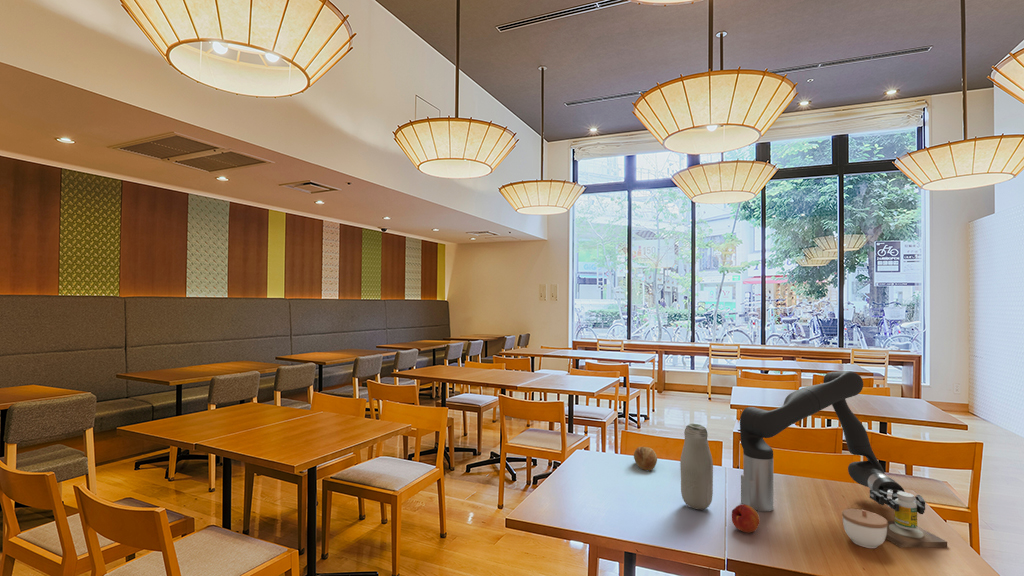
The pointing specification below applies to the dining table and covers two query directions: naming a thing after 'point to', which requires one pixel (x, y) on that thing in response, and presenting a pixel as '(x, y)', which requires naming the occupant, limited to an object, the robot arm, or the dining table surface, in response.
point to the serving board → (912, 537)
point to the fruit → (745, 518)
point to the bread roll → (645, 458)
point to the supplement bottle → (906, 511)
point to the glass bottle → (696, 468)
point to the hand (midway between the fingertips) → (909, 509)
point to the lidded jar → (865, 527)
